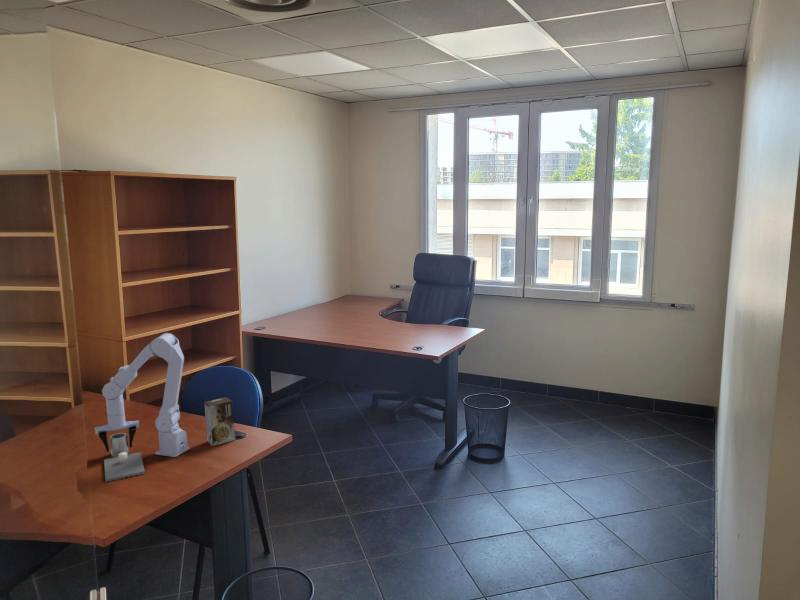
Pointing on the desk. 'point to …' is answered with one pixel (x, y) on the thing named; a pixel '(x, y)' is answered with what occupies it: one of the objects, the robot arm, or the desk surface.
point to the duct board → (123, 466)
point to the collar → (118, 444)
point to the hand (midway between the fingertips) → (119, 448)
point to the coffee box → (219, 421)
